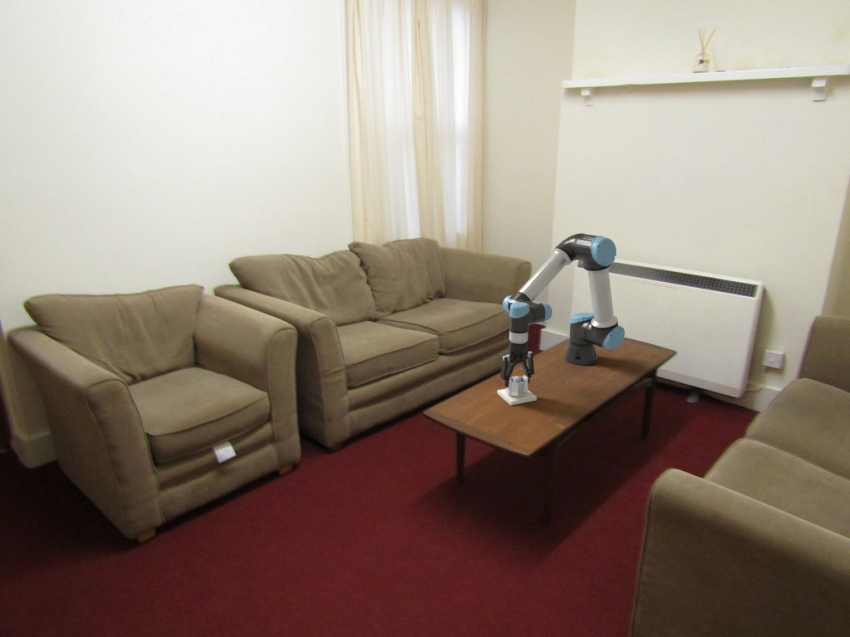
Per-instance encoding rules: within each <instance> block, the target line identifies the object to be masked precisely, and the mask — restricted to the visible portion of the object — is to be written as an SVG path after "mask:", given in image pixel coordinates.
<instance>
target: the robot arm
mask: <svg viewBox="0 0 850 637" xmlns="http://www.w3.org/2000/svg"><path fill="white" fill-rule="evenodd" d="M616 246H617V245H616V244H615V242H614V241H613V240H612V239H611V238H608V237H605V236H602V235H593V234H587V233H582V232H581V233H575V234H572V235H569V236H568V237H566V238H565V239H564V240H562V241H561V242H560V243H559V244H557V246H556V247H555V248H553V249H552V254H551V255H550V256H549V257H548V258H547V259H546V260H545V261H544V263H543V264H542V265H541V266H540V267H539V268H538V269H537V270H536V271H535V273H534V274H532V276H531V277H530V278H529V279H528V280H527V281H526V282H525V283H524V285H523V286H522V287H521V288H520V289H519V290H518V291H517V292H516V293H514V295H512V294H511V295H507V296H506V297H505V298H504V299H503V301H502V308H503V310H504V311H505V312H506V313H508V314H509V333H508V334H509V337H508V338H509V340H508V354H506V355H504V354H503V355H502V356H501V359H502V363H501V370H500V378H501V379H502V380H503V381H504V387H505V389H506V393H507V394H508V395H511V380H510V377H512V374H513V371H514V368H515V366H517V364H518V363H520V364H521V367H522V369H523V372H524V375H522V377H524V378H525V379H527V388H526V392H528V390H529V384H530V382H531V381H530V380H531V377H532V375H533V376H534V375H535V365H534V363H535V362H534V356H535V352H532V351H531V350H529V351H528V349H529V348H528V346H529V341H528V340H529V326H530V325H531V326H532V325H535V324H538V323H542V322H546V321H549V320H550V319H551V318H552V315H553V309H552V307H551V305H550V304H549V303H548V302H540V303H536V302H534V301H535V299H537V297H538V296H539V295H540V294H541V293H542V292H543V291H544V290H545V289H546V288H547V286H548V285H549V284H550V283H551V282H552V281H553V280H554V279H555V278H556V277H557V275H558V274H559V273H560V272H562V270H563V269H565V267H566V266H570V265H571V263H572V262H573V261H580V262H582V264H583V269H584V270H585V271H586V272H587V274H588V281H589V283H588V284H589V290H590V296H591V305H592V306H591V307H592V312H578V313H574V314H572V315H571V317H570V322H569V338H568V339H569V342H568V345H567V348H566V351H565V352H564V360H565V361H566V362H568V363H570V364H573V365H578V366H588V365H594V364H595V363H596V362H597V360H598V355H597V351H596V348H595V346H597V347H600V348H602V349H605V350H609V351H613V350H616V349H617V348H619V346H621V344H622V343H623V341H624V338H625V336H626V335H625V334H626V332H625V329H624V327H623V326H621V325H619V320H618V318H617V316H616V315H614V307H613V298H612V290H611V280H610V272H609V271H610V270H609V269H610V268H611V267H612V265H613V263H614V261H615V260H616V257H617V247H616ZM526 358H527V359H526ZM526 360H527V361H526Z"/></svg>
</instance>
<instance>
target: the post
mask: <svg viewBox="0 0 850 637" xmlns="http://www.w3.org/2000/svg"><path fill="white" fill-rule="evenodd" d="M521 377H522V376H521ZM521 377H514V378H513V382H521ZM496 392H497V395H498V396H500V398H502V399H503V400H504V401H505V402H507V404H509V405H510V406H513V405H519V404H520V405H521V404H524V403H530V402H534V401H538V399H537V398H538V396H536V395H535V394H534V393H533V392H531V391H530V390H529V389H528V392H526V394H525V396H520V397H516V396H511V395H508V394H507V393H506V388H502V389H497V391H496Z"/></svg>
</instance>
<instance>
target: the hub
mask: <svg viewBox="0 0 850 637" xmlns="http://www.w3.org/2000/svg"><path fill="white" fill-rule="evenodd" d="M514 377H521V382H513V378H514ZM510 380H511V396H516V397H520V396H525V394H526V388H527V379H525V378H524V377H523V376H522V375H521V376H520V375H511V377H510Z"/></svg>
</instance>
